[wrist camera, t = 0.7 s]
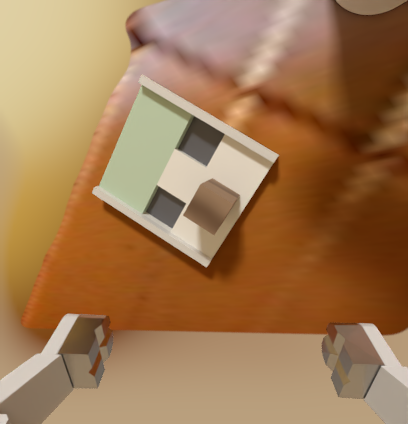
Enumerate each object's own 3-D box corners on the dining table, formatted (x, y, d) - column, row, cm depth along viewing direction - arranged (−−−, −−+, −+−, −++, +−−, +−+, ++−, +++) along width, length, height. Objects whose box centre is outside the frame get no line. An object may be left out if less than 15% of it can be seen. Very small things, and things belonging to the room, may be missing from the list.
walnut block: (212, 178, 50) (200, 184, 42) (240, 194, 50) (233, 204, 41) (197, 204, 52) (182, 215, 44) (223, 221, 52) (214, 235, 43)
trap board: (150, 79, 51) (141, 74, 48) (278, 154, 49) (278, 155, 45) (102, 190, 59) (91, 193, 56) (210, 260, 56) (206, 267, 53)
